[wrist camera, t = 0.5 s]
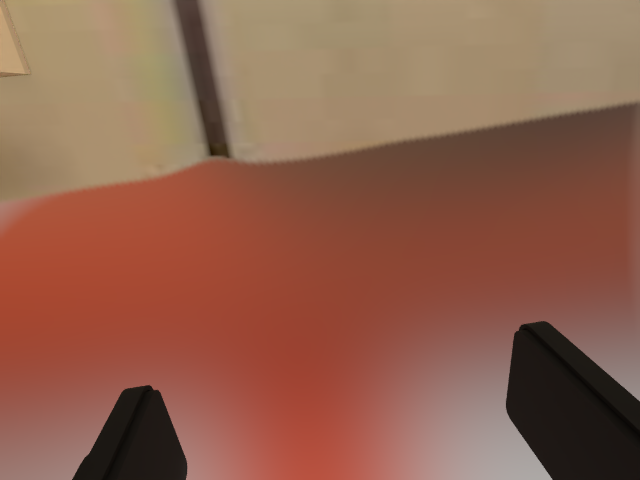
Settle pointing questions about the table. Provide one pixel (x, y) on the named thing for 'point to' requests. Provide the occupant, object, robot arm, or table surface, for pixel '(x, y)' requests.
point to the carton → (10, 47)
